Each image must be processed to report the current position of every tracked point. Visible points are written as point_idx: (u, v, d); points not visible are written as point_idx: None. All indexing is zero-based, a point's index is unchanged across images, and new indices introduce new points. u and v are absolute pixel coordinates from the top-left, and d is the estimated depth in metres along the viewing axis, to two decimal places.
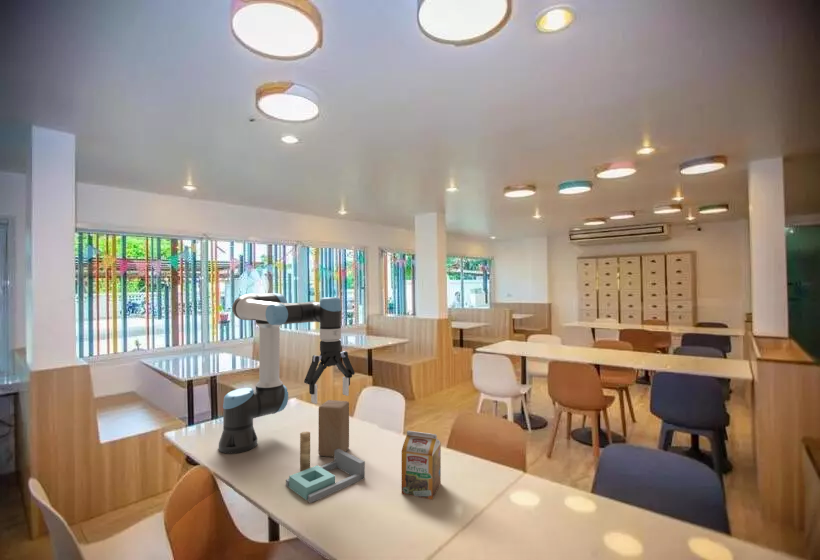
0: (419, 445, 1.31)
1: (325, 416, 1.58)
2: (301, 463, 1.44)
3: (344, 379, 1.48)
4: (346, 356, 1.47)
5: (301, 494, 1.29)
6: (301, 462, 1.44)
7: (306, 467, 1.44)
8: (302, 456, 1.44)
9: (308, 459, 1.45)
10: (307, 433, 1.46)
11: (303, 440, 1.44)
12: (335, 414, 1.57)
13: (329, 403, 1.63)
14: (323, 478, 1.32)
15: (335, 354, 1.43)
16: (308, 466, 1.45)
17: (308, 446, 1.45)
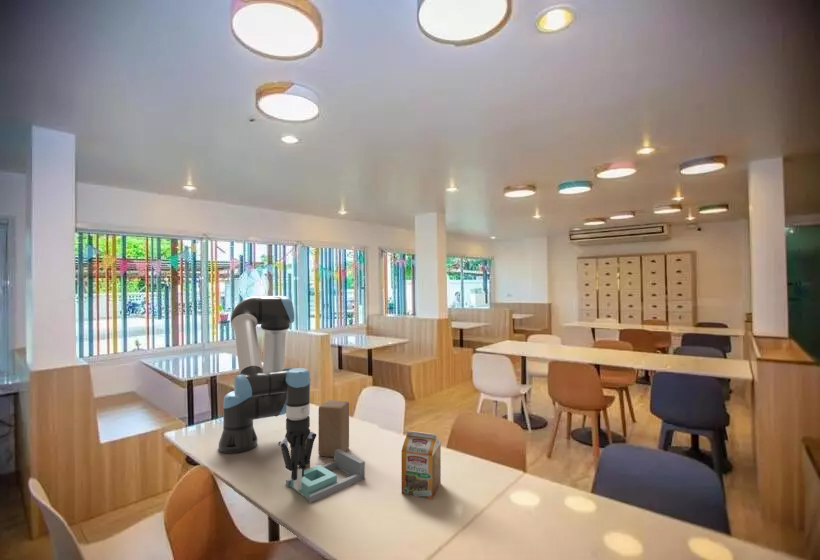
0: (419, 445, 1.31)
1: (325, 416, 1.58)
2: None
3: None
4: (312, 439, 1.33)
5: (303, 493, 1.29)
6: None
7: (306, 467, 1.44)
8: None
9: None
10: None
11: None
12: (335, 414, 1.57)
13: (329, 403, 1.63)
14: (325, 477, 1.33)
15: None
16: (308, 466, 1.45)
17: None
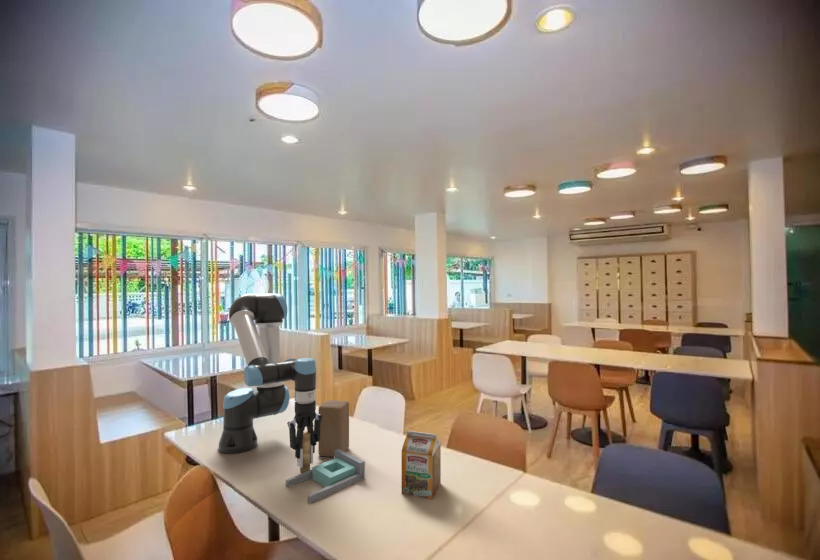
0: (419, 445, 1.31)
1: (325, 416, 1.58)
2: None
3: None
4: (319, 420, 1.49)
5: (324, 484, 1.35)
6: None
7: (306, 467, 1.44)
8: None
9: (308, 459, 1.45)
10: (307, 433, 1.46)
11: (303, 439, 1.44)
12: (335, 414, 1.57)
13: (329, 403, 1.63)
14: (345, 469, 1.39)
15: (311, 412, 1.46)
16: (308, 466, 1.45)
17: (308, 446, 1.45)
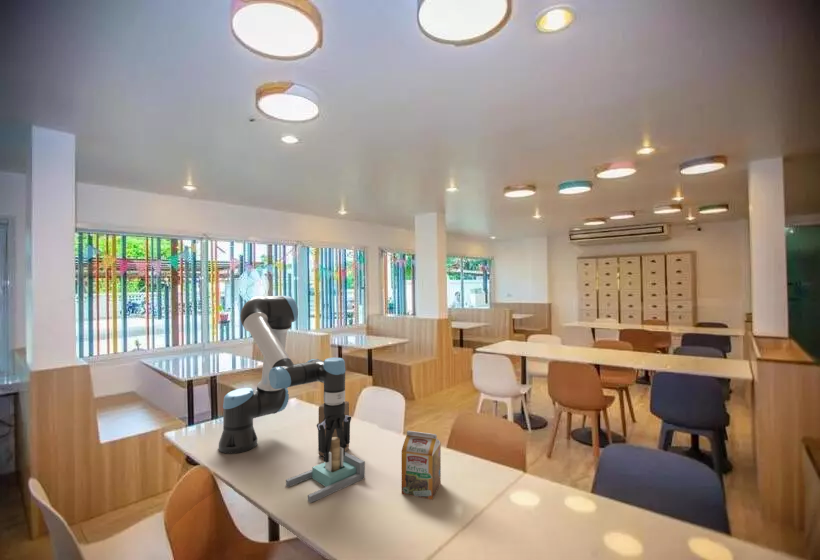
0: (419, 445, 1.31)
1: None
2: (331, 470, 1.39)
3: None
4: (348, 421, 1.44)
5: (324, 484, 1.35)
6: (331, 469, 1.39)
7: None
8: (332, 463, 1.39)
9: (338, 466, 1.40)
10: (337, 439, 1.40)
11: (333, 446, 1.39)
12: None
13: None
14: (345, 469, 1.39)
15: (340, 414, 1.41)
16: None
17: (338, 452, 1.40)
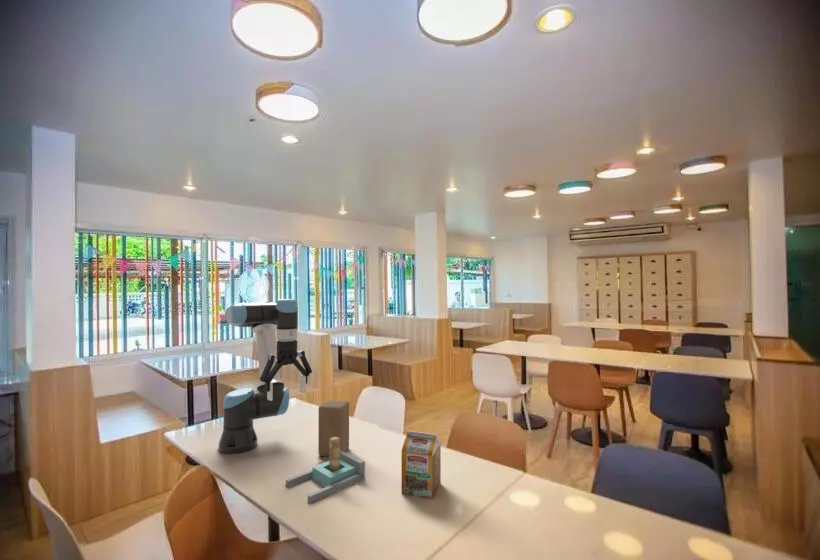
0: (419, 445, 1.31)
1: (325, 416, 1.58)
2: (331, 470, 1.39)
3: (301, 377, 1.54)
4: (303, 355, 1.53)
5: (325, 484, 1.35)
6: (331, 469, 1.39)
7: None
8: (332, 463, 1.39)
9: (338, 466, 1.40)
10: (337, 439, 1.40)
11: (333, 446, 1.39)
12: (335, 414, 1.57)
13: (329, 403, 1.63)
14: (345, 469, 1.39)
15: (291, 353, 1.50)
16: None
17: (338, 452, 1.40)
